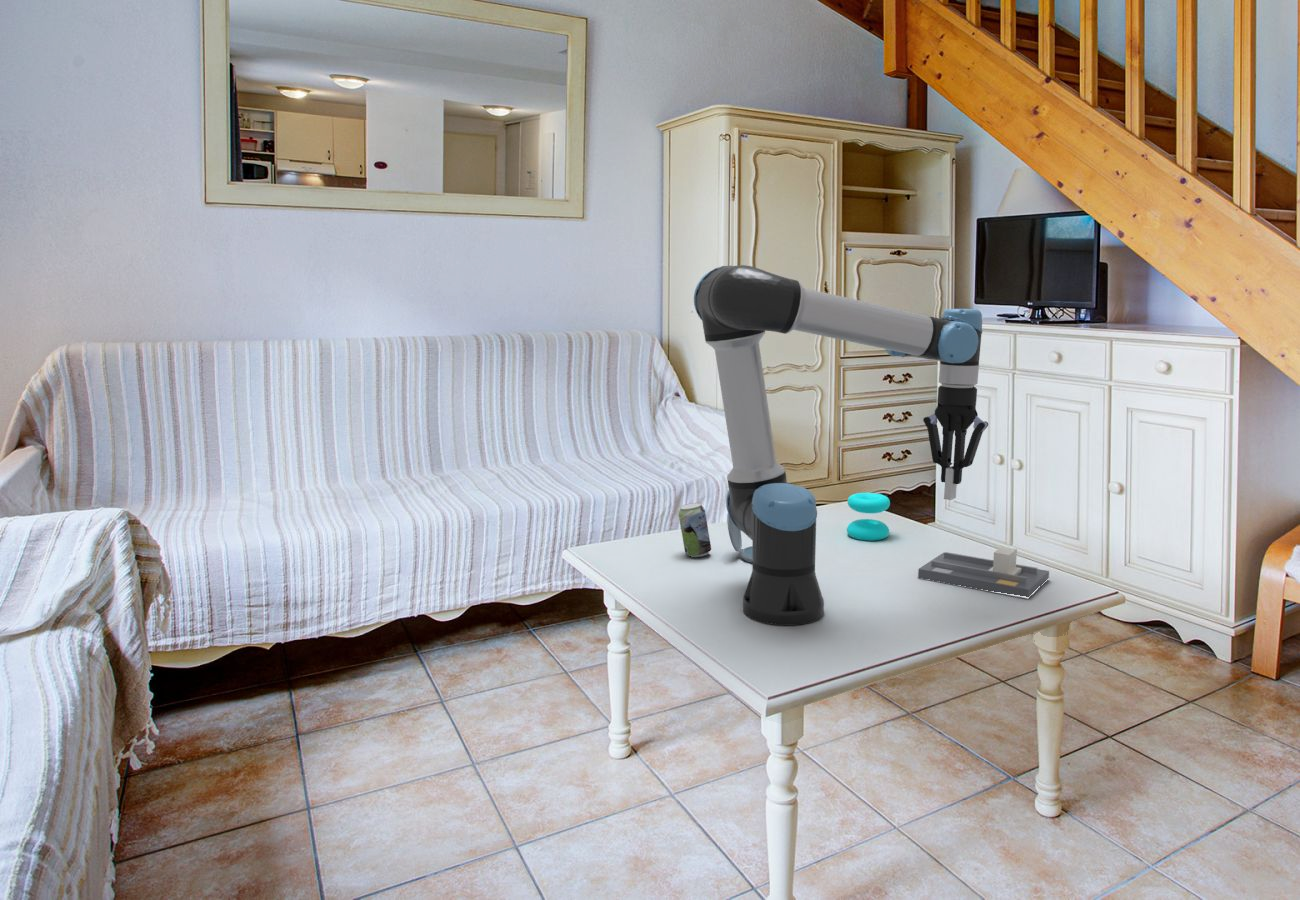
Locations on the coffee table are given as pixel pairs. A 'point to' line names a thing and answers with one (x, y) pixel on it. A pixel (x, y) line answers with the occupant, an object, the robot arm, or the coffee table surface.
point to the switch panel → (982, 574)
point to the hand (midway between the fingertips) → (949, 498)
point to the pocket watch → (739, 541)
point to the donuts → (868, 527)
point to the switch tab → (1005, 561)
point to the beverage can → (694, 530)
